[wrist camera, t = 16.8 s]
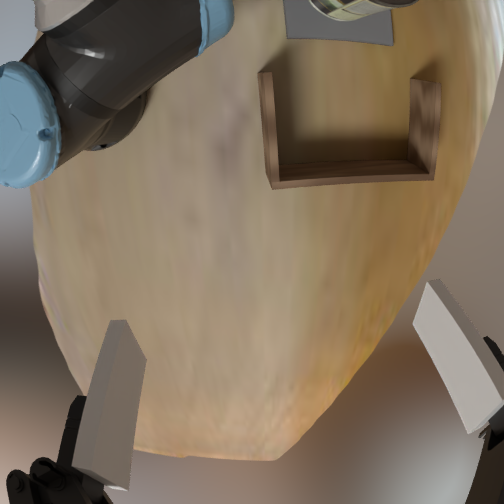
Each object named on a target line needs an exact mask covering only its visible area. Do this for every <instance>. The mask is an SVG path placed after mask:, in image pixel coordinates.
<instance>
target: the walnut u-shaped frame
mask: <svg viewBox="0 0 504 504" xmlns="http://www.w3.org/2000/svg"><path fill="white" fill-rule="evenodd" d="M258 84H259V95H260V107H261V119H262V131H263V143H264V156H265V169H266V175H267V177H268V180H269V183H270V185H271V188H272V190H274V189H285V188H296V187H308V186H321V185H335V184H350V183H369V182H391V181H426V180H434V175H435V168H436V159H437V150H438V140H439V127H440V109H441V83H436V82H430V81H424V80H417V79H410V122H409V141H408V154H407V160H360V161H334V162H316V163H301V164H288V165H279V164H278V147H277V132H276V118H275V104H274V91H273V79H272V72H264V73H258Z"/></svg>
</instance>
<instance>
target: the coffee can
mask: <svg viewBox="0 0 504 504" xmlns="http://www.w3.org/2000/svg"><path fill="white" fill-rule="evenodd" d="M417 1H418V0H309V2H310V3H311V5H312V6H313V7H314V8H315V9H316V10H317V11H319V12H320V13H321V14H323V15H325V16H326V17H329V18H331V19H334V20H338V21H354V20H357V19H360V18H362V17H365V16H368V15H371V14H375V13H378V12H382V11H386V10H390V9H393V8H399V7H407V6H410V5H413V4H414V3H416V2H417Z"/></svg>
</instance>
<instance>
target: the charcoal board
mask: <svg viewBox="0 0 504 504" xmlns="http://www.w3.org/2000/svg"><path fill="white" fill-rule="evenodd" d="M283 5H284V14H285V24H286V34H287V39H325V40H342V41H353V42H363V43H372V44H379V45H386V46H393V33H392V21H391V12H390V10H386V11H382V12H378V13H375V14H371V15H368V16H365V17H362V18H360V19H357V20H354V21H338V20H334V19H331V18H329V17H326V16H325V15H323V14H321V13H320V12H319V11H317V10H316V9H315V8H314V7H313V6H312V5H311V3H310V2H309V0H283Z"/></svg>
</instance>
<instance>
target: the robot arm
mask: <svg viewBox="0 0 504 504" xmlns="http://www.w3.org/2000/svg"><path fill="white" fill-rule="evenodd" d="M33 1H34V4H35V27H36V28H37V29H38V30H39V31H41V32H43V33H44V34H43V35H42V36H41V37H40V38H39V39H38V40H37V41H36V43H35V44H34V45H33V46H32V47H31V48H30V49H29V51H28V52H27V53H26V54H25V55H24V57H23V58H22V59H21V60H20V61H19V62H16V61H12V62H8V63H6V64H3V65H2V66H0V184H2V185H4V186H7V187H8V186H10V187H13V188H25V187H28V186H30V185H33V184H34V183H36V182H38V181H39V180H44V179H45V178H47V177H49V176H50V175H51V174H52V173H53V171H54V170H55V169H56V168H58V167H59V166H61V165H62V164H64V163H65V162H66V161H68V160H69V159H71V158H72V157H74V156H75V155H77V154H78V153H80V152H81V151H83V150H86V151H96V150H102V149H105V148H108V147H111V146H113V145H115V144H116V143H118V142H119V141H121V140H122V139H124V138H125V137H126V136H128V135H129V134H130V133H131V132H132V131H133V129H134V128H135V127H136V125H137V124H138V122H139V121H140V119H141V117H142V114H143V112H144V108H145V104H146V96H147V91H146V90H147V89H149V88H150V87H151V86H153V85H154V84H155V83H157V82H158V81H159V80H161V79H162V78H164V77H165V76H167V75H168V74H169V73H171V72H172V71H174V70H175V69H177V68H178V67H180V66H181V65H183V64H184V63H186V62H187V61H189V60H190V59H192V58H194V57H197V56H199V55H200V54H202V53H203V51H204V50H205V49H206V48H207V47H209V46H210V45H212V44H213V43H215V42H216V41H218V40H219V39H221V38H222V37H224V36H225V35H226V34H227V33H228V32H229V31H230V29H231V28H232V26H233V22H234V7H233V2H232V0H33ZM413 326H414V327H415V329H416V331H417V333H418V334H419V336H420V338H421V340H422V342H423V343H424V345H425V347H426V349H427V350H428V353H429V354H430V356H431V358H432V360H433V362H434V364H435V366H436V367H437V369H438V372H439V373H440V375H441V377H442V379H443V381H444V383H445V385H446V387H447V389H448V392H449V394H450V396H451V398H452V400H453V402H454V404H455V406H456V408H457V410H458V413H459V415H460V417H461V419H462V421H463V424H464V426H465V429H466V431H467V433H468V434H470V433H471V432H473V431H475V430H477V429H479V428H481V427H482V426H483V425H484V424H485V423H486V422H487V421H489V423H490V424H489V425H488V426H487V427H486V428H485V429H484V430H483V431H482V432H481V433H480V435H479V438H481V437H482V436H483V435H484V434H485V433H486V435H485V436H484V438H483V439H485V441H484V445H483V449H482V452H481V456H480V460H479V463H478V467H477V470H476V474H475V477H474V480H473V483H472V486H471V489H470V492H469V494H468V497H467V500H466V502H465V504H504V355H503V354H502V352H501V351H500V349H499V348H498V346H497V344H496V343H495V342H494V341H492V340H491V339H490V338H489V337H488V336H486V337H484V338H482V336H481V335H480V334H479V332H478V330H477V329H476V327H475V326H474V325H473V323H472V322H471V320H470V319H469V317H468V316H467V315H466V313H465V312H464V310H463V309H462V308H461V306H460V305H459V303H458V302H457V301H456V299H455V298H454V297H453V296H452V294H451V293H450V292H449V290H448V289H447V288H446V286H445V285H444V284H443V282H442V281H441V280H440V279H436V280H432V281H427V284H426V286H425V289H424V293H423V296H422V299H421V302H420V304H419V307H418V310H417V313H416V316H415V318H414V321H413ZM146 361H147V359H146V357H145V355H144V354H143V352H142V350H141V348H140V346H139V344H138V342H137V340H136V338H135V337H134V335H133V333H132V331H131V329H130V327H129V325H128V323H127V321H126V320H110V323H109V326H108V329H107V332H106V335H105V338H104V341H103V344H102V347H101V350H100V353H99V357H98V360H97V363H96V367H95V370H94V373H93V377H92V380H91V384H90V387H89V391H88V395H87V396H79V395H77V397H76V398H75V400H74V401H73V402H72V404H71V406H70V409H69V413H68V416H67V418H68V419H67V420H66V424H65V429H64V432H63V436H62V441H61V445H60V450H59V454H58V459H57V462H56V463H55V462H54V461H52V460H51V459H49V458H45V457H41V458H38V459H36V460H35V461H34V462H33V463H32V466H31V467H30V474H26V473H24V472H22V471H21V470H13V471H11V472H10V473H9V474H8V476H7V480H6V486H7V492H8V497H9V502H10V504H113V502H112V501H111V500H110V498H109V497H108V495H107V494H106V492H105V491H104V490H103V489H104V485H106V486H108V487H110V488H113V489H119V490H125V491H129V483H130V471H131V461H132V453H133V444H134V436H135V429H136V422H137V415H138V408H139V401H140V395H141V389H142V383H143V377H144V372H145V366H146Z"/></svg>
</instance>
